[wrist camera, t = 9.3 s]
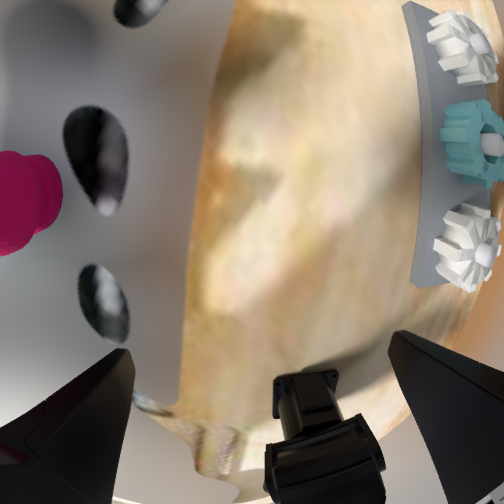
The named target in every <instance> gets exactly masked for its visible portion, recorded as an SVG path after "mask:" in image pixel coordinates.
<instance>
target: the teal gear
mask: <svg viewBox="0 0 504 504" xmlns="http://www.w3.org/2000/svg"><path fill="white" fill-rule="evenodd" d="M445 113H446V115H447V116H448V118H447V119H446V120H445V128H440V138H441V142H445V151H446V153H447V154H448V156H449V158H448V160H447V161H446V163H447V165H448V166H449V168H450V170H451V172H454V173H458V174H460V175H463V180H462V182H466V183H471V184H475V185H479V186H483V187H488V188H493V181H495V182H503V180H504V154H503V155H502V156H501V157H499V156H492V155H484V154H483V152H482V150H481V142H480V133H494V134H500V135H501V137H502V139H503V141H504V122H503V119H502V117H501V116H497V114H496V112H494V111H493V110H492V108H491V103H490V102H488V101H486V100H473V101H463V102H460V103H458V104H449V106H448V107H447V108H446V110H445Z"/></svg>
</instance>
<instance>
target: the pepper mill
mask: <svg viewBox="0 0 504 504" xmlns="http://www.w3.org/2000/svg"><path fill="white" fill-rule="evenodd" d="M62 197H63V192H62V182H61V178H60V174H59V172H58V170H57V168H56V166H55V165H54V163H53V162H52V161H51V160H50V159H48V158H47V157H45V156H43V155H29V156H22V155H21V154H19V153H17V152H15V151H2V152H0V256H5V255H9V254H11V253H13V252H16V251H18V250H20V249H22V248H23V247H24V246H25V245H26V244H27V243H28V242H29V241H30V239H31V238H32V236H33V234H36V233H38V232H40V231H42V230H44V229H46V228H48V227H49V226H50V225H51V224H52V223H53V222H54V221H55V219H56V217H57V216H58V214H59V211H60V208H61V204H62Z"/></svg>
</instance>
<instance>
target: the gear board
mask: <svg viewBox="0 0 504 504" xmlns="http://www.w3.org/2000/svg"><path fill="white" fill-rule="evenodd" d="M402 9H403V13H404V17H405V20H406V24H407V28H408V33H409V37H410V42H411V47H412V52H413V57H414V63H415V69H416V76H417V84H418V92H419V102H420V114H421V132H422V181H421V200H420V212H419V223H418V232H417V240H416V247H415V254H414V260H413V266H412V272H411V277H410V282H411V283H412V284H414V285H415V286H416V287H418V288H424V287H429V286H435V285H440V284H445V283H450V282H451V283H453V284H454V285H456V286H457V287H459V288H460V287H461V288H463V289H464V290H466V291H467V292H468V293H470V292H473V291H475V289H476V286H477V284H479V283H480V282H481V281H482V280H483V279H484V280H485V281H487V280H488V279H489V277H490V276H491V274H492V271H491V268H492V266H493V264H494V261H495V259H496V256H499V255H500V250H501V246H502V245H500V244H499V233H498V232H499V230H500V228H501V224H500V221H499V219H497V218H494V217H492V216H490V213H491V211H490V210H489V205H490V194H491V188H488V187H483V186H479V185H475V184H471V183H466V182H462V180H463V175H460V174H458V173H454V172H451V170H450V168H449V166H448V165H447V163H446V161H447V160H448V158H449V156H448V154H447V153H446V151H445V142H441V138H440V128H445V120H446V119H447V118H448V116H447V115H446V113H445V110H446V108H447V107H448V106H449V104H458V103H460V102H463V101H473V100H486V101H488V95H487V89H486V84H488V83H495V82H497V80H498V78H499V77H498V75H497V74H496V72H495V71H496V65H497V64H499V62H498V58H497V55H496V54H495V53H493V50H492V48H491V46H490V44H489V42H488V40H487V39H488V35H487V34H486V33H485V31H484V30H483V28H482V29H480V28H479V27H478V26H477V25H476V24H475V23H474V22H473V21H472V20H471V18H470V15H469V14H467V13H466V12H464V11H463V10H462V11H460V12H458V13H455V12H454V11H453V9H450V10H448V11H445V12H443V13H441V14H438V13H436V12H434V11H432V10H430V9H428V8H426V7H424V6H421V5H419V4H417V3H415V2H412V1H408V2H407V3H405V4H404V5H403V6H402ZM480 142H481V150H482V152H483V154H484V155H492V156H499V157H501V156H502V155H503V154H504V141H503V139H502V137H501V135H500V134H494V133H480Z"/></svg>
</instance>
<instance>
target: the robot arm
mask: <svg viewBox="0 0 504 504" xmlns="http://www.w3.org/2000/svg"><path fill="white" fill-rule="evenodd" d="M388 356H389V359H390V361H391V364H392V367H393V369H394V372H395V375H396V377H397V380H398V383H399V386H400V388H401V390H402V393H403V395H404V397H405V399H406V401H407V403H408V405H409V407H410V409H411V412H412V414H413V416H414V418H415V420H416V423H417V425H418V427H419V429H420V432H421V434H422V436H423V438H424V441H425V443H426V446H427V448H428V450H429V452H430V455H431V457H432V460H433V463H434V465H435V468H436V470H437V473H438V475H439V479H440V481H441V484H442V487H443V489H444V493H445V495H446V498H447V501H448V504H475V503H477V502H478V501H479V500H481V499H483V498H484V497H485V496H487V495H488V494H489V495H490V497H491V499H490V500H489V501H488V502H487V503H485V504H504V372H502V371H499V370H497V369H494V368H492V367H489V366H487V365H485V364H482V363H479V362H478V361H475V360H473V359H471V358H468V357H466V356H464V355H461V354H459V353H456V352H454V351H452V350H450V349H447V348H445V347H443V346H440V345H438V344H436V343H434V342H431V341H429V340H427V339H424V338H422V337H420V336H418V335H415V334H413V333H411V332H408V331H406V330H400V331H396V332H394V333H393V335H392V339H391V342H390V345H389V348H388ZM333 374H334V375H333ZM338 377H339V373H338V371H337V370H328V371H323V372H317V373H310V374H303V375H296V376H289V377H280V378H276V379H274V380H273V404H272V416H273V418H274V419H280V420H281V425H282V429H283V434H284V439H285V441H281V442H278V443H274V444H272V443H270V444H266V452H265V480H264V484H263V489H264V491H265V492H267V493H269V494H270V496H271V498H272V500H273V501H274V503H275V504H385V501H386V495H385V494H386V490H385V487H384V484H383V481H382V477H381V475H380V472H382V471H384V470H386V465H385V461H384V457H383V454H382V451H381V448H380V446H379V444H378V442H377V440H376V438H375V436H374V435H373V433H372V431H371V429H370V428H369V426H368V424H367V423H366V421H365V419H364V418H363V416H362V414H361V413H359V414H357V415H355V416H354V417H352V418H350V419H347V420H344V418H343V415H342V413H341V410H340V408H339V406H338V403H337V401H336V398H335V396H334V394H335V390H336V385H337V381H338ZM134 380H135V366H134V363H133V360H132V357H131V354H130V352H129V350H128V349H123V348H116V349H115V350H113V351H112V352H111V353H109V354H108V355H106V356H105V357H104V358H102V359H101V360H99V361H98V362H97V363H95V364H94V365H93V366H91V367H90V368H88V369H87V370H86V371H84V372H83V373H81V374H80V375H79V376H77V377H76V378H74V379H73V380H72V381H70V382H69V383H67V384H66V385H65V386H63V387H62V388H60V389H59V390H58V391H56V392H55V393H53V394H52V395H51V396H49V397H48V398H46V401H45V400H44V401H42V402H41V403H39V404H38V405H37V406H35V407H34V408H32V409H31V410H29V411H28V412H26V413H25V414H23V415H21V416H20V417H18V418H16V419H15V420H13V421H11V422H9V423H8V424H6V425H4V426H2V427H1V428H0V504H111V503H112V497H113V490H114V484H115V479H116V474H117V468H118V463H119V458H120V453H121V449H122V444H123V440H124V435H125V431H126V427H127V422H128V419H129V414H130V409H131V402H132V394H133V387H134ZM278 382H280V383H278Z"/></svg>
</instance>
